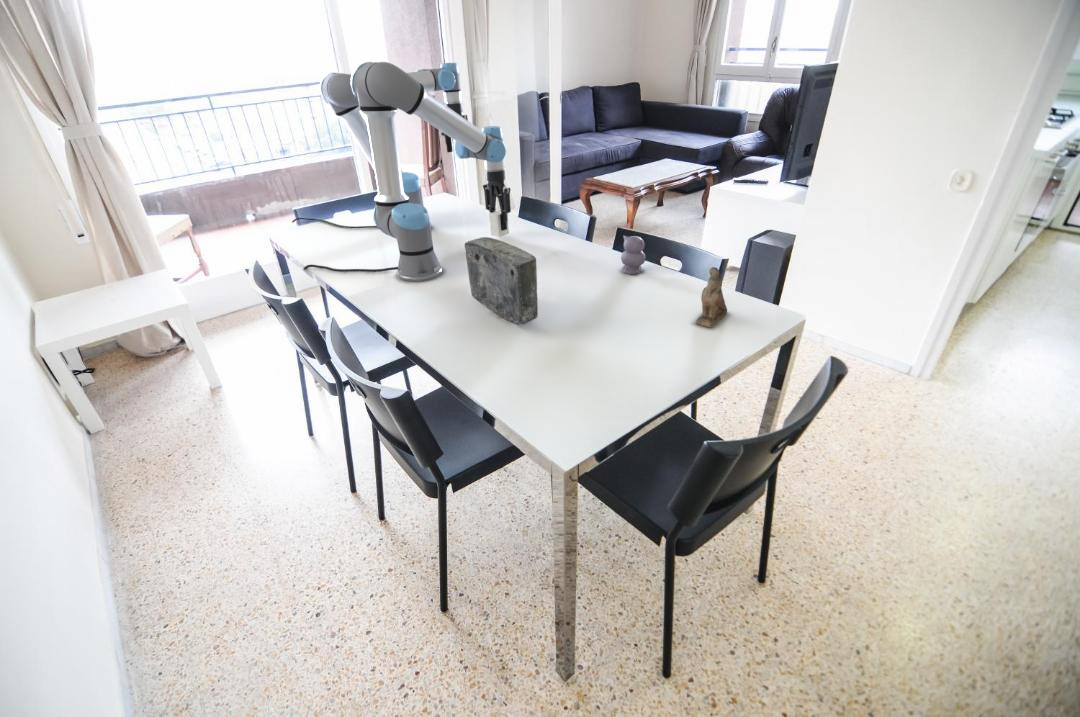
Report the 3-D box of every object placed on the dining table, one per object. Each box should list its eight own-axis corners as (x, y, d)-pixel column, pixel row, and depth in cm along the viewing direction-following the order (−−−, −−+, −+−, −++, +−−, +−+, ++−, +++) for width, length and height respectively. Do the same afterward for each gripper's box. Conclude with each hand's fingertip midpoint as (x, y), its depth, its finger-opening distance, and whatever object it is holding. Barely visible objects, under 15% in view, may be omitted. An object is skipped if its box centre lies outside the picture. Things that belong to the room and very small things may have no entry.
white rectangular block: (508, 233, 208) (507, 211, 204) (499, 237, 205) (497, 215, 200) (501, 231, 211) (499, 210, 206) (491, 235, 207) (489, 213, 202)
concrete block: (545, 326, 139) (543, 257, 128) (519, 336, 134) (514, 266, 124) (495, 295, 157) (489, 234, 147) (470, 303, 153) (463, 240, 143)
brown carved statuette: (709, 335, 136) (713, 280, 124) (691, 329, 139) (693, 274, 128) (730, 313, 142) (736, 258, 130) (712, 307, 145) (716, 253, 133)
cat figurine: (649, 270, 171) (652, 236, 165) (636, 276, 167) (638, 242, 160) (628, 264, 176) (630, 231, 170) (615, 271, 172) (617, 237, 165)
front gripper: (518, 170, 192) (521, 230, 204) (486, 165, 202) (491, 222, 214) (504, 173, 187) (508, 234, 199) (472, 169, 197) (478, 227, 209)
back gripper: (478, 102, 218) (483, 154, 229) (442, 101, 232) (448, 149, 243) (465, 104, 213) (471, 156, 224) (429, 102, 227) (436, 152, 238)
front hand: (499, 228), depth 206 cm, fingers closed on white rectangular block, 5 cm apart
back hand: (459, 153), depth 234 cm, fingers open, 13 cm apart
